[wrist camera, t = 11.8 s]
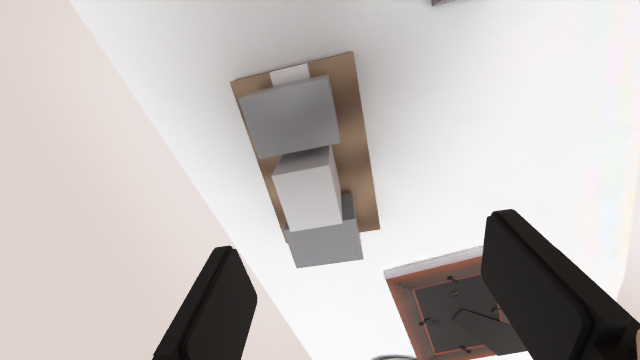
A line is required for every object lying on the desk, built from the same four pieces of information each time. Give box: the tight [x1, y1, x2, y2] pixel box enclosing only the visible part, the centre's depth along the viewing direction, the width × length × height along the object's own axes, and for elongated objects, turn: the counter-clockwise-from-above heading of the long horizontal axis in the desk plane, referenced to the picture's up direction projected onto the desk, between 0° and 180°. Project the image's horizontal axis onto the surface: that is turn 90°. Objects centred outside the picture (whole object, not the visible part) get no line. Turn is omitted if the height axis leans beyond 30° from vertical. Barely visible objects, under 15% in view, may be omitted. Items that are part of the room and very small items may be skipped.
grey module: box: [272, 145, 342, 232], centre depth 24 cm, size 6×5×7 cm
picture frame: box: [384, 245, 528, 360], centre depth 39 cm, size 16×2×22 cm
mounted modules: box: [238, 74, 363, 268], centre depth 25 cm, size 18×7×5 cm, turn 13°
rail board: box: [230, 52, 380, 243], centre depth 29 cm, size 20×12×2 cm, turn 13°
